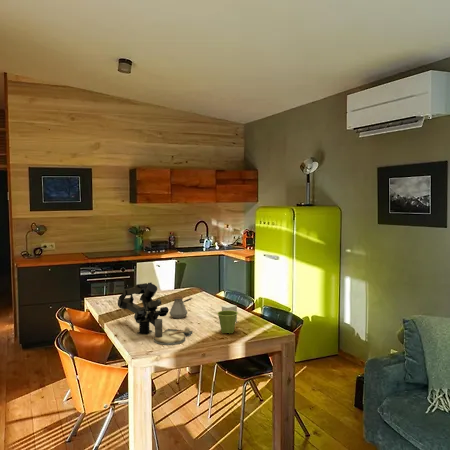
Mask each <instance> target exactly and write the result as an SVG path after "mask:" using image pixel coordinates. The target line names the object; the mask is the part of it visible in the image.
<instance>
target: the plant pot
mask: <svg viewBox="0 0 450 450" xmlns="http://www.w3.org/2000/svg"><path fill="white" fill-rule="evenodd" d="M216 314H217V316H218V320H219V326H220V331H221V333H222V334H224V333H229V334H233V332H234V333H235V327H236V323H237V322H236V317H237V318H238V314H239V312H238V311H237V312H236V311H229V310H227V311H222V310H220V311H218V312H217V313H216ZM235 322H236V323H235Z"/></svg>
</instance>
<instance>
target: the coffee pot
mask: <svg viewBox="0 0 450 450" xmlns="http://www.w3.org/2000/svg"><path fill="white" fill-rule="evenodd" d="M183 299H184V297H183V296H173V300H174V301H173V303H172V306H171V308H170V309H169V310H170V311H169V316H170V317H171V318H173V319H183V318H185V317H186V316H187V314H188V310H187V309H186V306H185V303H186V302H189V301H190V302H192V300H193V298H192V297H190V298H187V299H185V300H183Z"/></svg>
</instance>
